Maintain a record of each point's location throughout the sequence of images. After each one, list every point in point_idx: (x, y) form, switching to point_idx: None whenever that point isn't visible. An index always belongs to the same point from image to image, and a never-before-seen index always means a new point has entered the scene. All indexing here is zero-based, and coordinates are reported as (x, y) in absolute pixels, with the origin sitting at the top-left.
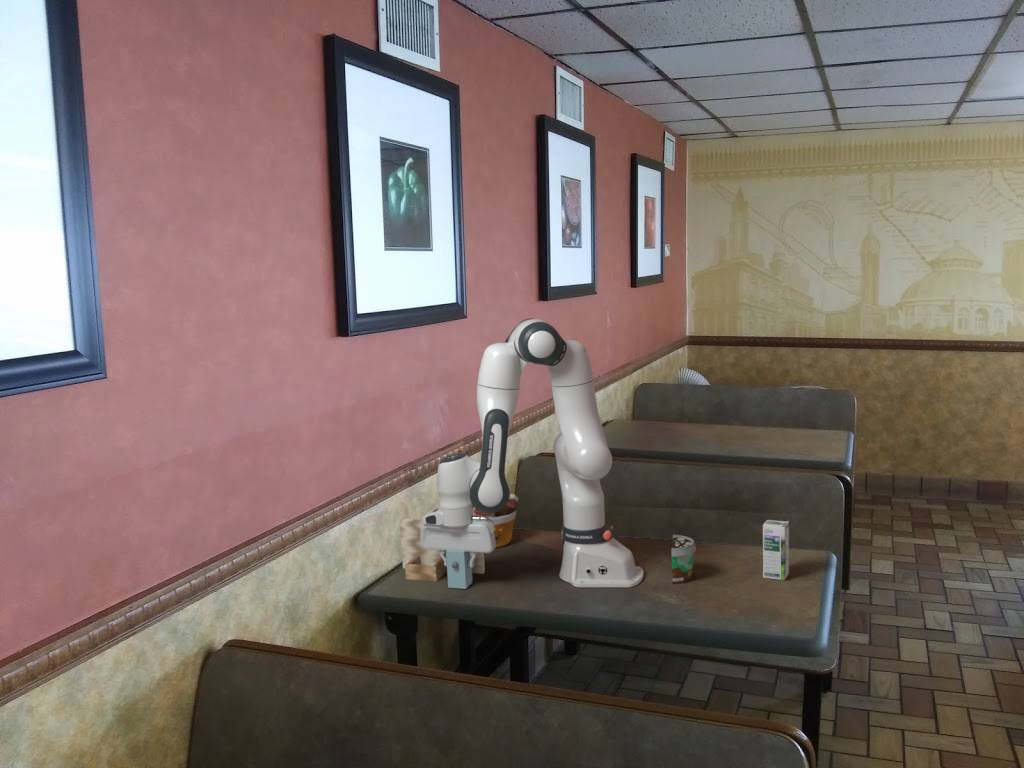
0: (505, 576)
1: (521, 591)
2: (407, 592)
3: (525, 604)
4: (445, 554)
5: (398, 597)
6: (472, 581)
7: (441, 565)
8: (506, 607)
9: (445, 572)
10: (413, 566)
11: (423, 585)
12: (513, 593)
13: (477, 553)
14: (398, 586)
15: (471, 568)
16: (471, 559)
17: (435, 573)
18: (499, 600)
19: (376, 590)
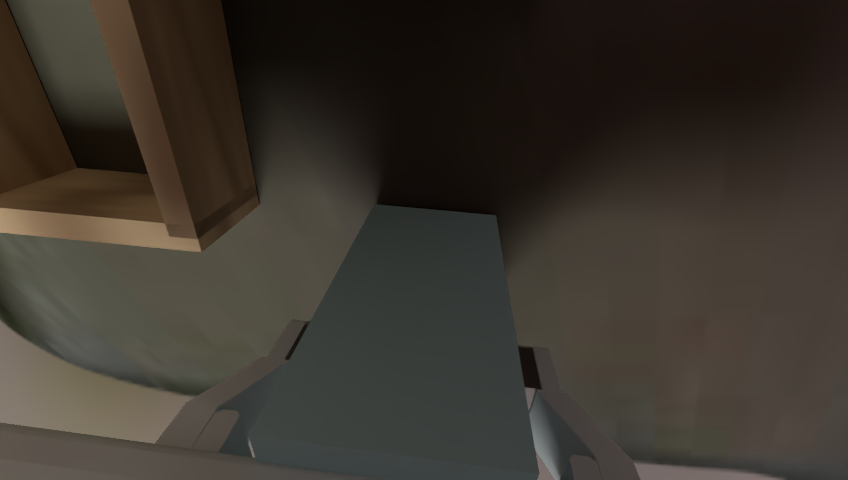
0: (755, 37)
1: (824, 308)
2: (209, 343)
3: (803, 435)
4: (250, 406)
5: (210, 386)
6: (495, 217)
7: (187, 123)
8: (702, 455)
9: (223, 29)
10: (29, 230)
11: (224, 264)
12: (764, 334)
13: (629, 469)
14: (115, 284)
15: (503, 273)
16: (549, 459)
17: (226, 228)
18: (673, 403)
19: (65, 330)
